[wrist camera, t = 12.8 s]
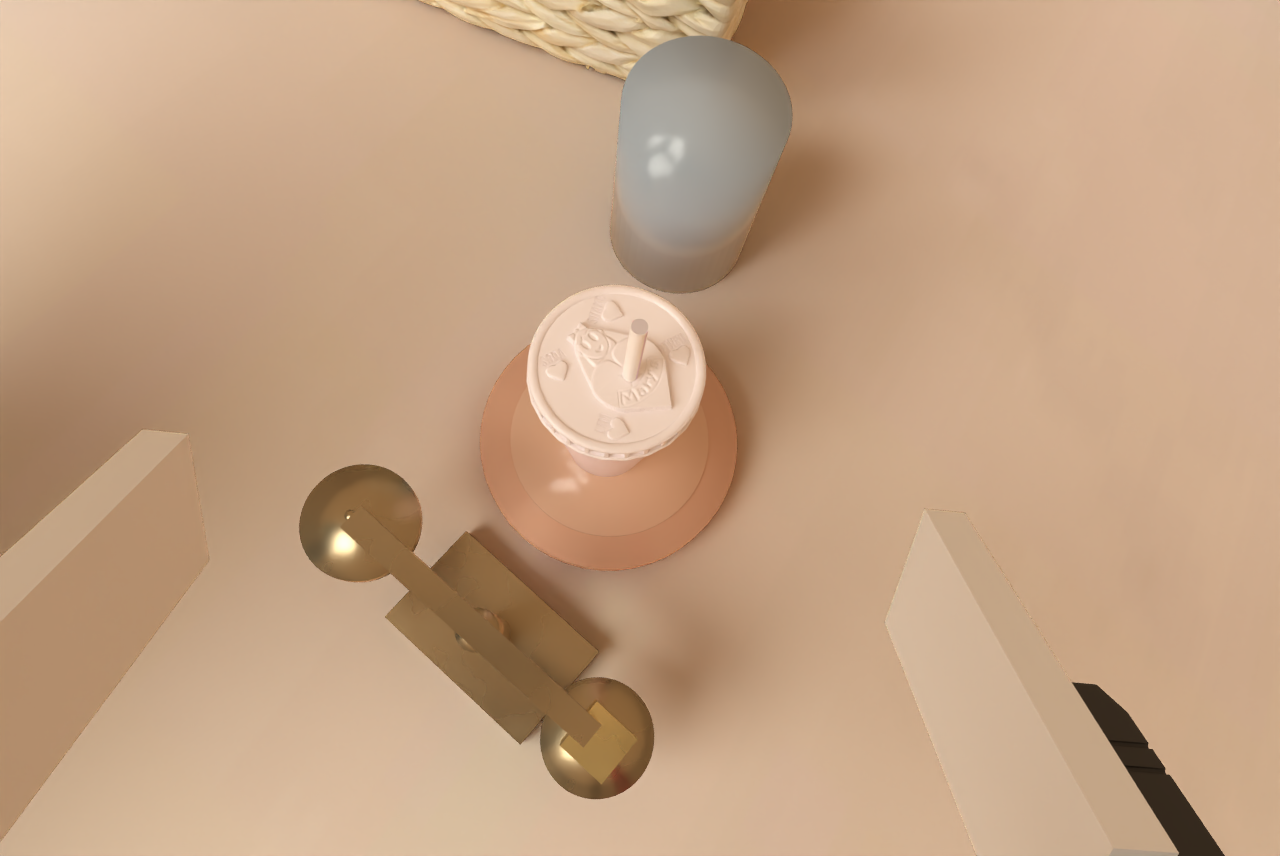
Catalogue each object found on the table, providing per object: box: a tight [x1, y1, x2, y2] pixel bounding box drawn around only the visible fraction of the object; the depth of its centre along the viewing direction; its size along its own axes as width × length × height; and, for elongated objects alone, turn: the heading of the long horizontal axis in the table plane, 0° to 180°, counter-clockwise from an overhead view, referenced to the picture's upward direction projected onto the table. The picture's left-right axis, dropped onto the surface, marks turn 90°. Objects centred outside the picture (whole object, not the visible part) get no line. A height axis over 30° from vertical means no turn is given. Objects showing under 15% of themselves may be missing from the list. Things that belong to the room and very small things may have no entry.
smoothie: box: [526, 285, 706, 477], centre depth 31 cm, size 6×6×14 cm
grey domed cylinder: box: [610, 36, 792, 293], centre depth 37 cm, size 7×7×10 cm
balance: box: [299, 465, 654, 799], centre depth 32 cm, size 16×5×9 cm, turn 49°
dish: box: [480, 344, 737, 571], centre depth 38 cm, size 12×12×1 cm
